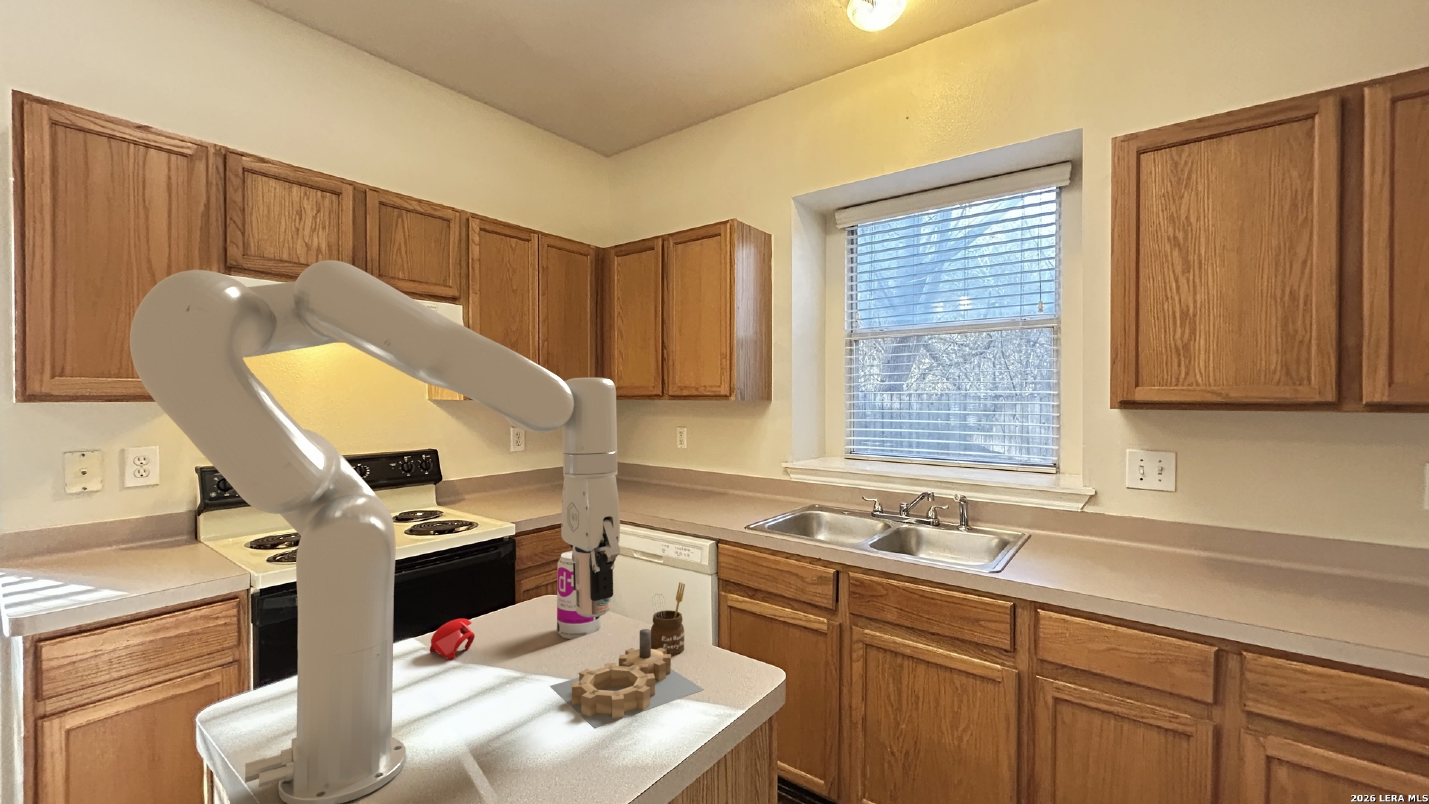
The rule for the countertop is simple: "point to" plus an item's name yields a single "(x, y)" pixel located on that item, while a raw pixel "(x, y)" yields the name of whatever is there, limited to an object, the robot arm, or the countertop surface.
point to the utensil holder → (668, 628)
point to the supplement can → (571, 604)
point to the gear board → (664, 689)
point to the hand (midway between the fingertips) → (593, 592)
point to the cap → (451, 638)
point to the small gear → (648, 657)
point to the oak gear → (613, 701)
